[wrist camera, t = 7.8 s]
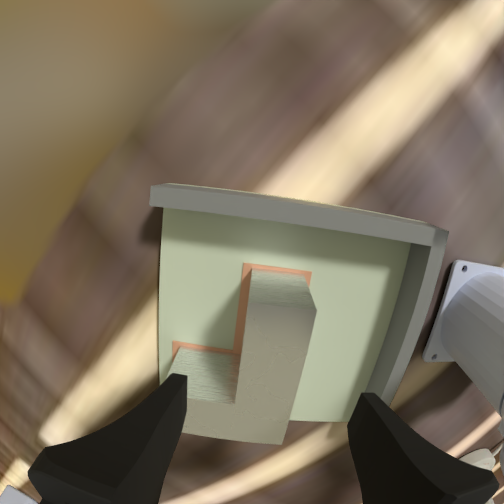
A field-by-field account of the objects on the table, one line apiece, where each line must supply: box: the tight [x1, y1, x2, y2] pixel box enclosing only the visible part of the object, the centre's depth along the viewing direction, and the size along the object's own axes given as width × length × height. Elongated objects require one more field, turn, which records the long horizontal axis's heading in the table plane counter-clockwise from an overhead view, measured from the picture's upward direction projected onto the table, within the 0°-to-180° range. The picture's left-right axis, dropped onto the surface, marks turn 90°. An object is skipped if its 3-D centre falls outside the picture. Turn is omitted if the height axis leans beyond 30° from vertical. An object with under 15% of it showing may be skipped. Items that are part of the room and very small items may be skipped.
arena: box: [149, 183, 449, 422], centre depth 18 cm, size 16×16×3 cm
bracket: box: [166, 267, 317, 445], centre depth 17 cm, size 9×7×5 cm
